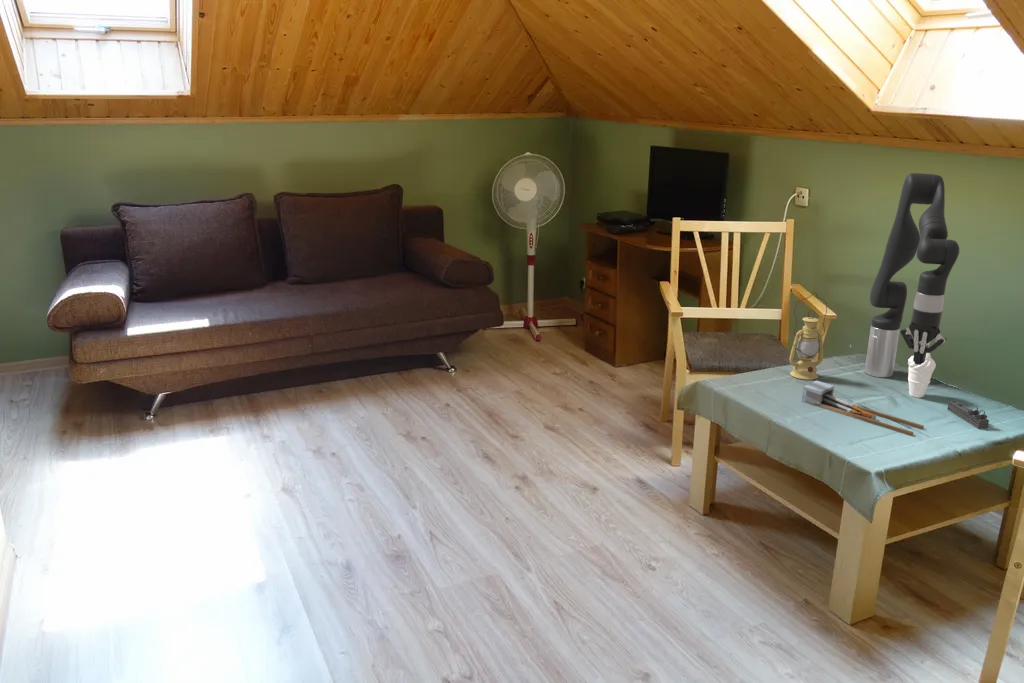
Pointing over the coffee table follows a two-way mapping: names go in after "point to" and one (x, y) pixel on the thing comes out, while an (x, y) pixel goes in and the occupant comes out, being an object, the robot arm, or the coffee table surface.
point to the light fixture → (969, 414)
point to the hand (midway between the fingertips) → (918, 363)
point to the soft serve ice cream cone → (920, 376)
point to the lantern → (807, 348)
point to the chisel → (857, 410)
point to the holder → (817, 389)
